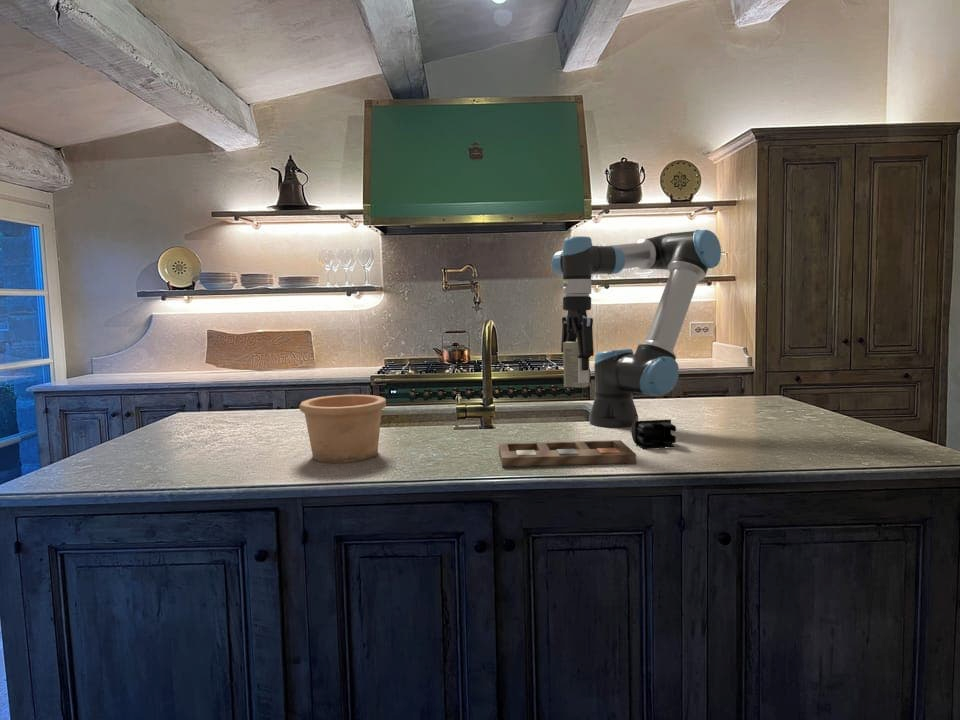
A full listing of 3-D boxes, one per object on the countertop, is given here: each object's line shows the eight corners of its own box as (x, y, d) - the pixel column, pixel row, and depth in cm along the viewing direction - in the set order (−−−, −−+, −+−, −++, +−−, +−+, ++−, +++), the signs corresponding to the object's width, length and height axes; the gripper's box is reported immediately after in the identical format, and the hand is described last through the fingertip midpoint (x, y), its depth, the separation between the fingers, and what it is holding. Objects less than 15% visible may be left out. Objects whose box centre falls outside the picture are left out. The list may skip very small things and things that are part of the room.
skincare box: (590, 386, 174) (590, 341, 173) (585, 388, 171) (586, 342, 169) (567, 384, 177) (567, 340, 176) (562, 386, 173) (562, 341, 172)
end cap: (666, 441, 176) (666, 417, 175) (677, 447, 169) (677, 422, 168) (631, 443, 175) (631, 419, 174) (640, 449, 168) (640, 424, 167)
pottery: (315, 446, 179) (313, 395, 177) (394, 445, 178) (392, 393, 177) (290, 466, 157) (287, 408, 156) (379, 465, 156) (377, 407, 155)
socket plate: (502, 467, 152) (502, 456, 152) (498, 452, 167) (498, 441, 167) (636, 464, 153) (636, 452, 153) (620, 449, 168) (620, 438, 168)
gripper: (548, 295, 180) (548, 377, 182) (581, 295, 161) (581, 386, 163) (572, 295, 182) (572, 376, 184) (608, 295, 163) (607, 384, 165)
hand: (576, 380), depth 174 cm, fingers closed on skincare box, 7 cm apart
